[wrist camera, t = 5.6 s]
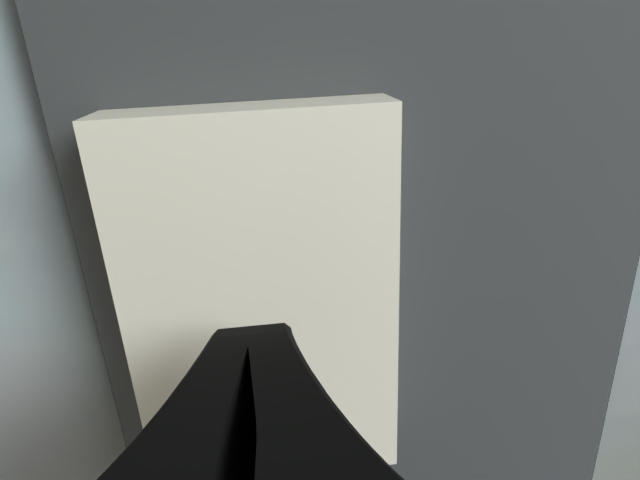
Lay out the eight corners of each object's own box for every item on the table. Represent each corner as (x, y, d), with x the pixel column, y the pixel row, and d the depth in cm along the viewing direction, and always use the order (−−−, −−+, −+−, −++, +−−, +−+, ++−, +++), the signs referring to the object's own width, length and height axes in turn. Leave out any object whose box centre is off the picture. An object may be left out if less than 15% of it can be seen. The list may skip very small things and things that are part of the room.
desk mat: (580, 466, 17) (591, 481, 16) (153, 520, 15) (149, 538, 15) (693, -99, 11) (716, -106, 10) (8, -78, 9) (-8, -86, 9)
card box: (396, 463, 13) (157, 493, 12) (382, 419, 14) (168, 443, 14) (402, 101, 9) (72, 121, 9) (382, 93, 11) (99, 109, 10)
